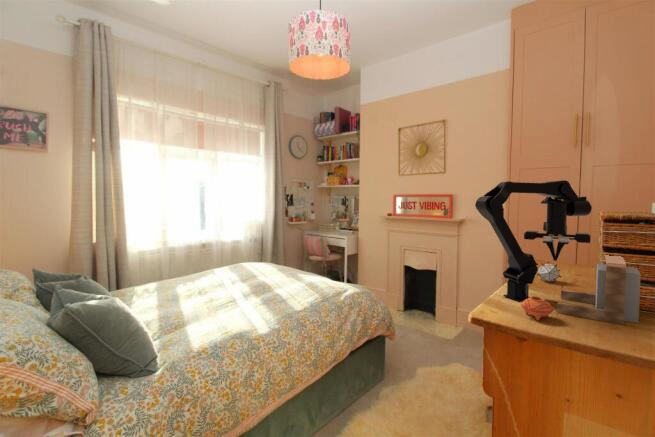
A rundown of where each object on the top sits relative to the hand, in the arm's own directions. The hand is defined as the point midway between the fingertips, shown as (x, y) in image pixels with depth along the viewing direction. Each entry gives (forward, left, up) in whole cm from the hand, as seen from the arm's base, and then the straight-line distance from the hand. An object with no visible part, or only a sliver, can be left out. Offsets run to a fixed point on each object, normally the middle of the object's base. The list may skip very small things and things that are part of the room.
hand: (555, 260), depth 112 cm
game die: (+17, +14, -13) cm, 26 cm away
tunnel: (-3, -13, -13) cm, 19 cm away
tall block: (0, -18, -13) cm, 22 cm away
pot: (-24, -11, -13) cm, 30 cm away
